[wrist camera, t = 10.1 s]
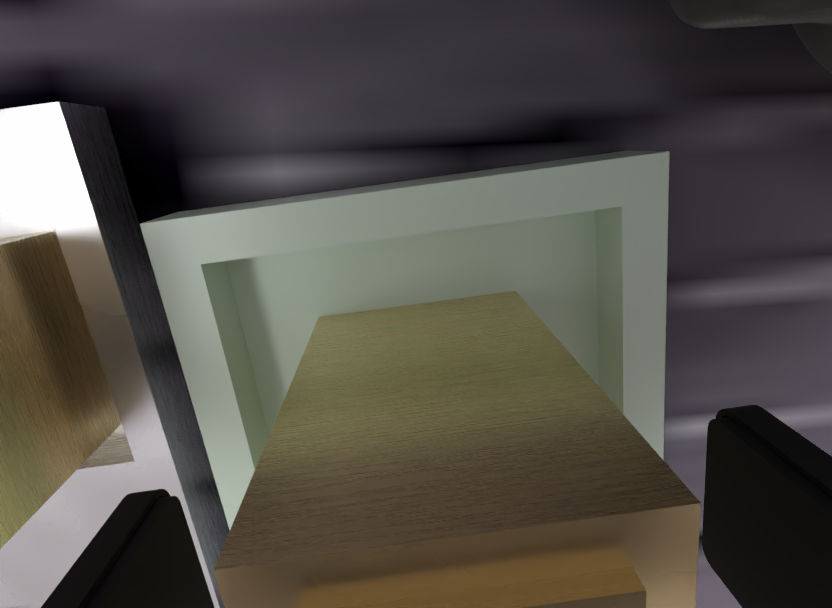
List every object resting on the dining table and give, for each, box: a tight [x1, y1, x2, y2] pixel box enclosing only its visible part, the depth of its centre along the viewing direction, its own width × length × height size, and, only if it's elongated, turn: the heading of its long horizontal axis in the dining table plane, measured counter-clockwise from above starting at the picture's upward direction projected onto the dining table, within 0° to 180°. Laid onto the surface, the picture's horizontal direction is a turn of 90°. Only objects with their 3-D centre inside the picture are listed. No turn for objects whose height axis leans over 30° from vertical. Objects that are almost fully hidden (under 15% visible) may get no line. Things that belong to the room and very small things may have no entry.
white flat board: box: [0, 102, 229, 608], centre depth 14 cm, size 20×8×2 cm, turn 7°
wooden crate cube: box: [213, 291, 701, 608], centre depth 10 cm, size 5×5×8 cm
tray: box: [140, 151, 669, 530], centre depth 13 cm, size 11×11×2 cm
